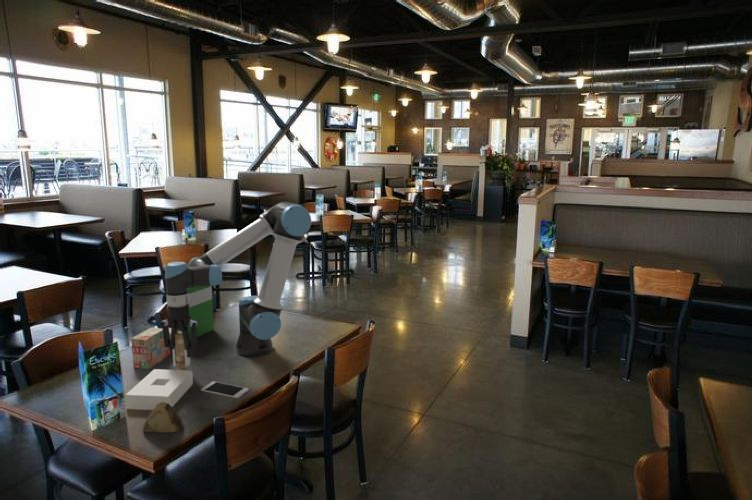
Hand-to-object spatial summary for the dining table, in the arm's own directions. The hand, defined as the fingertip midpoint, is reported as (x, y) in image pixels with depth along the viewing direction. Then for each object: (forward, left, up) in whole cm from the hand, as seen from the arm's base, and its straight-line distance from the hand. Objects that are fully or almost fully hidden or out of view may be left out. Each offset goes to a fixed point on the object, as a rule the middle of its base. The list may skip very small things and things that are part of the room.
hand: (181, 364), depth 196 cm
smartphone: (-20, +11, -5) cm, 23 cm away
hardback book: (+12, -42, -4) cm, 44 cm away
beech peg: (0, 0, -4) cm, 4 cm away
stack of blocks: (+16, -14, -4) cm, 22 cm away
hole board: (0, +17, -4) cm, 18 cm away
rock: (-10, +38, -4) cm, 40 cm away
